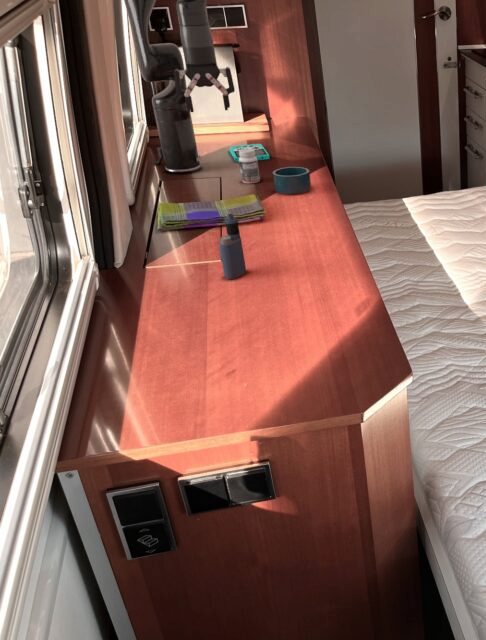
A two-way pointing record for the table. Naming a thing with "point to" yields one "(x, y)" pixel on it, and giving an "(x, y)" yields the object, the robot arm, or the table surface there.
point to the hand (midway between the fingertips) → (209, 110)
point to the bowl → (292, 180)
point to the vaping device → (232, 250)
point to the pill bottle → (249, 166)
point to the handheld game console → (259, 149)
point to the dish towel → (209, 212)
